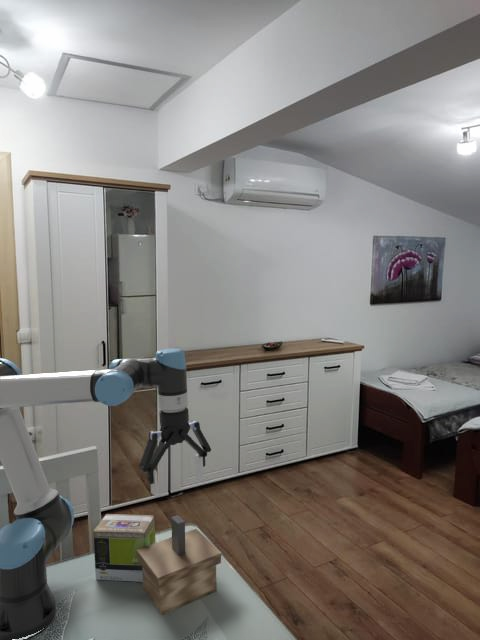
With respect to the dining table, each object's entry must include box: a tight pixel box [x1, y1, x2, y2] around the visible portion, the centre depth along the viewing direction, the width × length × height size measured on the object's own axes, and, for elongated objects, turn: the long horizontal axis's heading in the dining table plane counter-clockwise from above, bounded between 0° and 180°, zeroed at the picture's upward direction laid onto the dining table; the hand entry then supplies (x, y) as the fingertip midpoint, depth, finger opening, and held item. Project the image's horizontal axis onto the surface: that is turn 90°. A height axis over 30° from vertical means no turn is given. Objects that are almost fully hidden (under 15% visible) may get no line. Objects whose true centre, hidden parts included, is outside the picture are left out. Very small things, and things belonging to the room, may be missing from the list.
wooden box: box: [142, 565, 218, 616], centre depth 127 cm, size 16×12×10 cm
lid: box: [137, 514, 222, 588], centre depth 126 cm, size 18×14×12 cm
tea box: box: [92, 513, 157, 583], centre depth 135 cm, size 15×10×15 cm, turn 84°
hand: (178, 486), depth 125 cm, fingers open, 13 cm apart
